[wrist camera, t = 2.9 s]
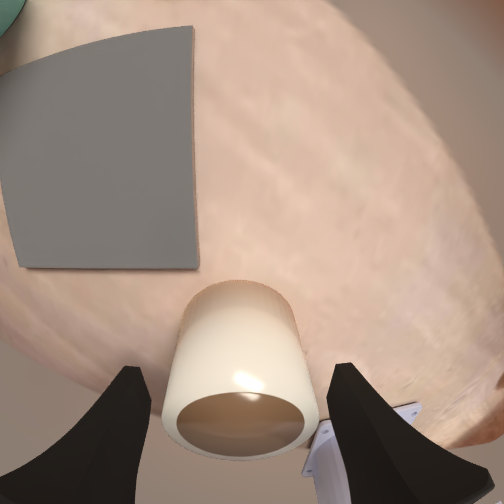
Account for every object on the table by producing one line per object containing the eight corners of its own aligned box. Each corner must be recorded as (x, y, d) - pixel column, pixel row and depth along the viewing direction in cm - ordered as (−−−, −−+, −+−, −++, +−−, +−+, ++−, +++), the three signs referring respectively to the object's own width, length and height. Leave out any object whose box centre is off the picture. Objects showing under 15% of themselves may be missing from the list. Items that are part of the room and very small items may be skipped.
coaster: (199, 261, 12) (198, 268, 12) (25, 261, 12) (19, 267, 11) (194, 30, 8) (192, 25, 8) (3, 78, 8) (-5, 78, 7)
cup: (290, 365, 15) (307, 457, 10) (189, 366, 15) (176, 459, 10) (299, 278, 13) (333, 376, 8) (175, 280, 12) (144, 378, 7)
